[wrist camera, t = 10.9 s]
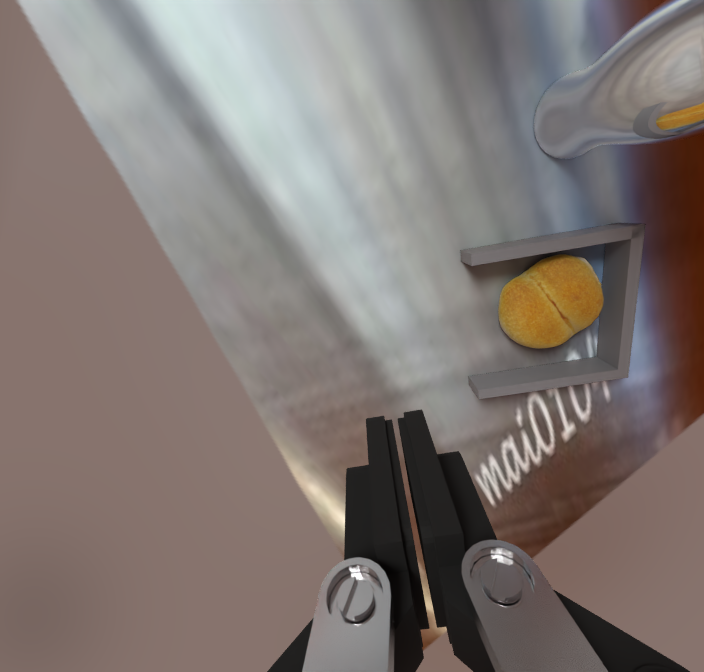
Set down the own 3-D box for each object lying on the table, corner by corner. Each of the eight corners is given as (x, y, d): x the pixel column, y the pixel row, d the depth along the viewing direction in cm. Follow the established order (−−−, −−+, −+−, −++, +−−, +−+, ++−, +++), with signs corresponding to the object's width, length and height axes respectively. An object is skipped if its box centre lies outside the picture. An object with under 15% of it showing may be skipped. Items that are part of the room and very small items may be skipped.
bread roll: (479, 298, 33) (495, 309, 29) (563, 238, 31) (592, 241, 27) (521, 359, 35) (541, 377, 31) (602, 306, 33) (634, 319, 30)
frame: (460, 250, 31) (471, 254, 28) (618, 222, 30) (645, 224, 28) (468, 384, 36) (478, 399, 33) (605, 364, 35) (628, 377, 32)
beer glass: (632, 113, 28) (926, 10, 13) (561, 183, 29) (754, 157, 15) (581, 42, 26) (854, -159, 12) (509, 121, 28) (672, 26, 14)
